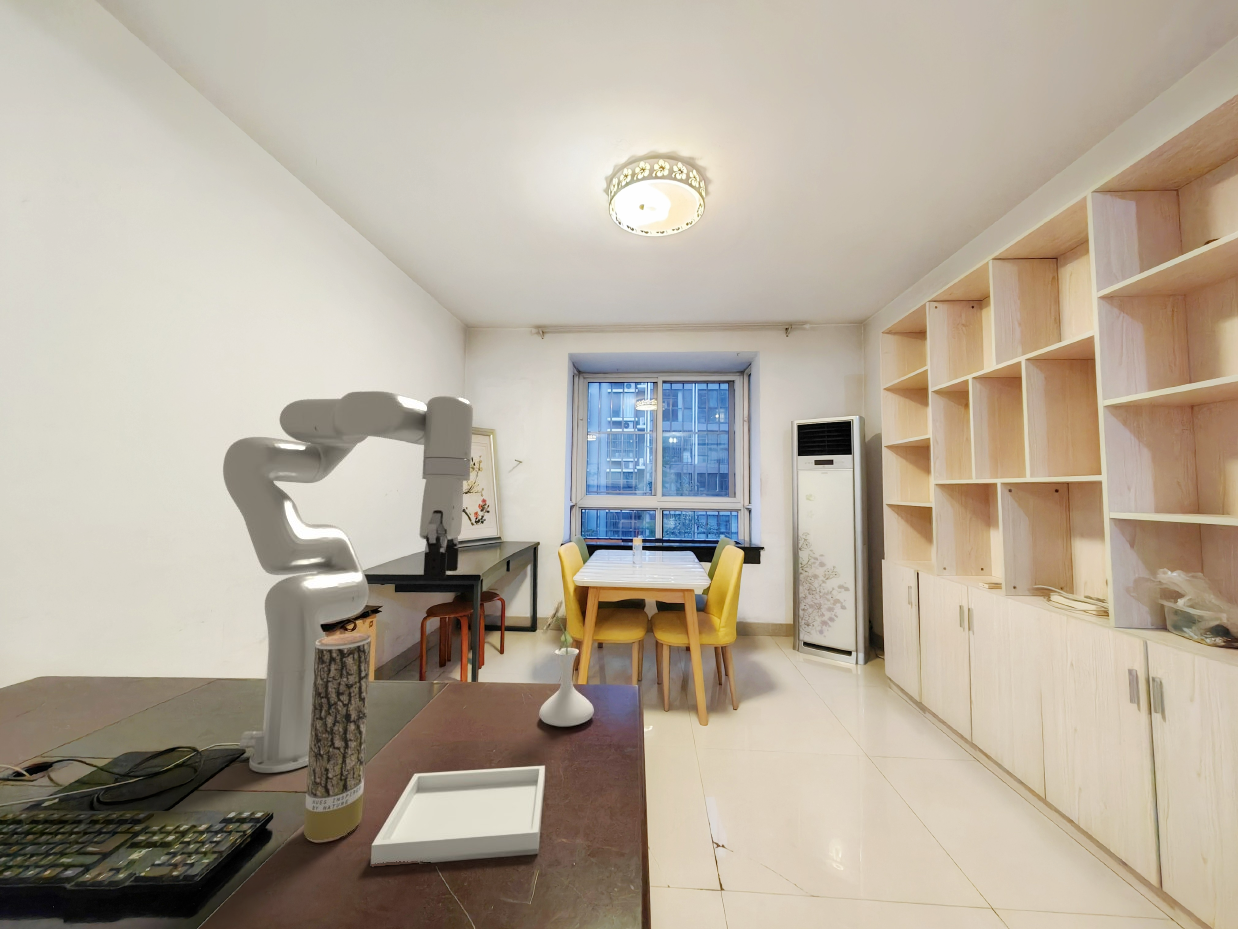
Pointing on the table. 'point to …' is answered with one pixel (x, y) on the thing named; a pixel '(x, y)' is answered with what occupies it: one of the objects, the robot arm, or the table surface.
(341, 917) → the table surface
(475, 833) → the tray
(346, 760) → the paper tube
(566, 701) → the flower in vase
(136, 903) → the table surface
